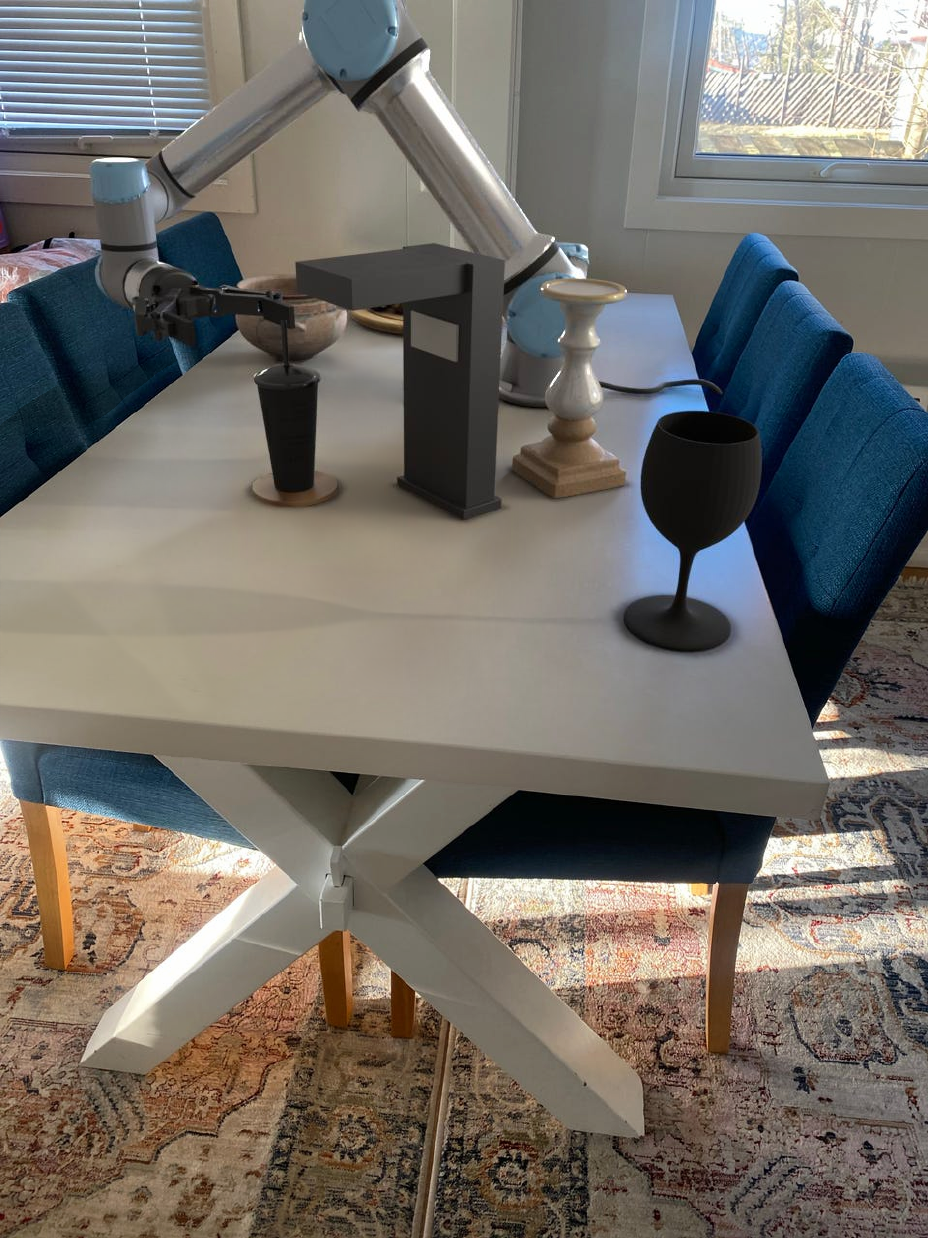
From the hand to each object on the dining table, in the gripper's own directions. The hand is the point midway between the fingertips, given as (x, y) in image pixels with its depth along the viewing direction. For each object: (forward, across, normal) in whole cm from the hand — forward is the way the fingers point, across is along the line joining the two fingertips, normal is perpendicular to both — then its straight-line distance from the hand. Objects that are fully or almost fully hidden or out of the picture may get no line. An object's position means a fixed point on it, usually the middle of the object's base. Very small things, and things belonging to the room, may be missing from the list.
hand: (243, 325), depth 118 cm
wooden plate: (-49, -68, -18) cm, 86 cm away
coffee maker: (+23, -7, -18) cm, 30 cm away
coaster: (+10, 0, -18) cm, 20 cm away
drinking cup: (+10, 0, -18) cm, 20 cm away
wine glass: (+60, -12, -18) cm, 64 cm away
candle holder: (+27, -30, -18) cm, 44 cm away
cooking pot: (-41, -31, -18) cm, 55 cm away
